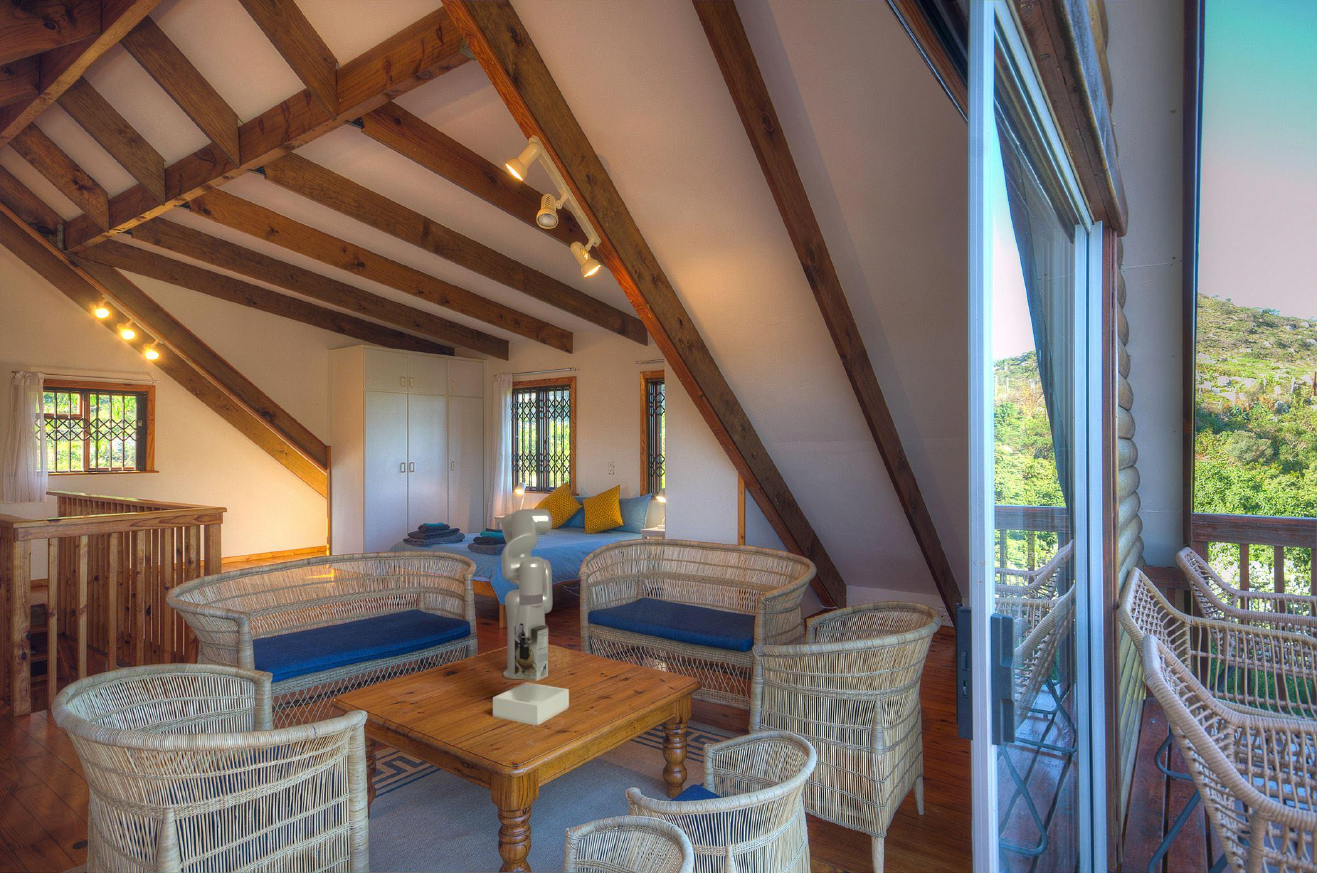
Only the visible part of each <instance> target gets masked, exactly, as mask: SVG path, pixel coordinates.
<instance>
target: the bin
mask: <svg viewBox="0 0 1317 873" xmlns="http://www.w3.org/2000/svg"><path fill="white" fill-rule="evenodd" d="M569 690H570V689H569V688H563V687H557V686H551V685H544V684H538V683H531V682H527V681H526V682H523V683H522V684H519V685H517V686H515V687H512V688H510V689H509V690H506V691H505V692H501V693H500V694H498V695H496V696H493V697H492V718H497V719H502V720H508V721H512V722H513V721H514V722H517V723H523V724H528V725H533V726H539V725H541V724H543V723H545V722H546V721H548V720H550V719H552V718H553V717H555V716H558V715H559V714H561V713H562V712H565V711H566V710H568V709H569V708H570V706H569V705H570V691H569Z"/></svg>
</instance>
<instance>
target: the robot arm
mask: <svg viewBox="0 0 1317 873" xmlns="http://www.w3.org/2000/svg"><path fill="white" fill-rule="evenodd" d="M550 512H551V511H549V510H548V509H545V508H530V509H529V508H528V509H527V508H525V509H524V508H523V509H518V510H516V511H514V512H513V513H509V514H508V513H507V514H505V515H504V516H502V518H501V519H500V520H501V522H500V524H501V525H500V526H501V531H502V535H503V537H504V540H505V543H506V545H505V546H504V548H503V549H502V552H501V572H502V576H503V578H504V579H505V580H506V581H508V582H509V583H510V584H512V585H514V586H518V589H512V590H510V591H508V592H506V595H505V597H504V605H505V612H506V621H507V622H506V624H507V668H506V670H504V671H503V674H502V675H503V677H504V678H506V679H510V680H511V679H512V680H524V679H523V678H518V677H515V639H516V641H517V643H518V646H520V659H526V660H527V659H529V646H528V642H529V637H530V635H531V629H532V628H535V627H538V626H541V625H545V626H548V625H547V624H546V618H545V617H546V614H548V613H550V612H551V611H552V609H553V581H552V580H553V576H552V575H553V572H552V566H551V563H550V561H549V560H547V559H546V558H542V557H541V556H532V550H533V549H535V547H536V546H537V544H538V541H539V540H538V539H539V538H538V536H545V535H548V534H549V533H550V531H552V528H553V517H552V515H551V513H550ZM515 626H516V634H515ZM523 633H524V634H525V636H523ZM523 638H526V639H525V642H524V640H523Z"/></svg>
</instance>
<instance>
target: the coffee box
mask: <svg viewBox="0 0 1317 873" xmlns="http://www.w3.org/2000/svg"><path fill="white" fill-rule="evenodd" d="M515 634H516V626H515ZM523 636H525V634H524V633H523ZM525 639H526V638H523V640H524V642H525ZM528 646H529V659H527V660H526V659H520V646H518V643H517V641H516V639H515V677H518V678H523V679H522V680H530V681H536V682H537V681H539V680H542V679H545V678H546V677H548V676H549V625H547V626H545V625H541V626H538V627H535V628H532V629H531V635H530V637H529V642H528Z"/></svg>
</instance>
